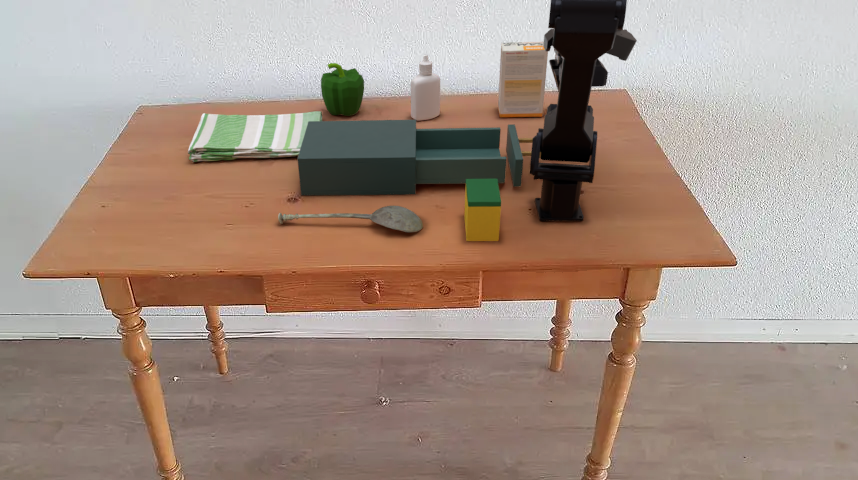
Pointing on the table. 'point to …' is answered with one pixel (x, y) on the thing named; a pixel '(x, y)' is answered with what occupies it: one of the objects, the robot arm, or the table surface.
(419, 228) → the soupspoon
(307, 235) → the table surface
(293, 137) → the dish towel
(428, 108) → the eye dropper bottle
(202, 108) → the table surface
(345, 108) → the bell pepper
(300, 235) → the table surface
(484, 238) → the sponge
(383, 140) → the cabinet
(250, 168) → the table surface
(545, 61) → the supplement box
